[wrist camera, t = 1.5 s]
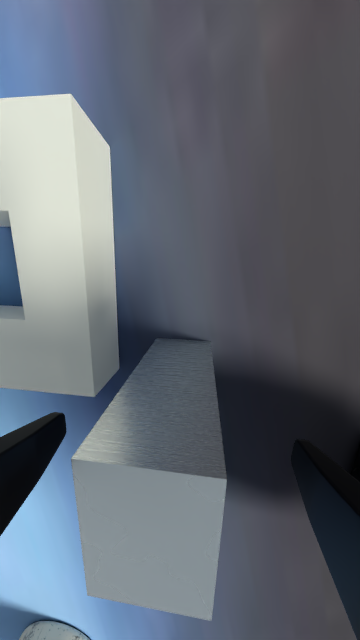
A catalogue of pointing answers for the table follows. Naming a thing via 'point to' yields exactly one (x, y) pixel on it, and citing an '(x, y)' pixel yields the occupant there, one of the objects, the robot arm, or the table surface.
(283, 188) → the table surface
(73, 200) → the hub block
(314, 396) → the table surface
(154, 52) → the table surface
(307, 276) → the table surface
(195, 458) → the keyed peg
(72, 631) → the teacup with lid
